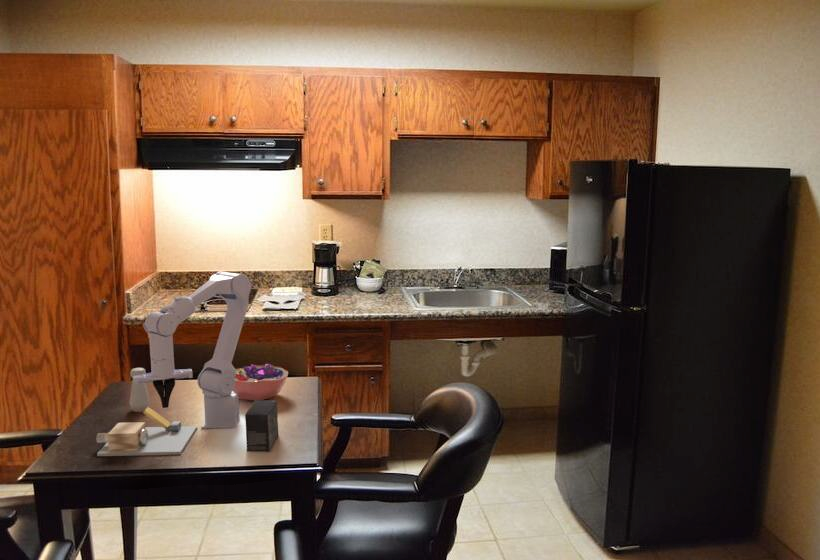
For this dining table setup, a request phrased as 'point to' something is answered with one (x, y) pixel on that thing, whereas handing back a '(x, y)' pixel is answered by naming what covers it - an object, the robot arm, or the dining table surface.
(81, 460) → the dining table surface
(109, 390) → the dining table surface
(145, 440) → the pin
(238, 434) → the dining table surface
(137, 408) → the salt shaker
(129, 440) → the block
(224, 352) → the robot arm
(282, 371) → the cell model
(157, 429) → the board
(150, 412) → the tab
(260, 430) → the small box
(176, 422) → the block
